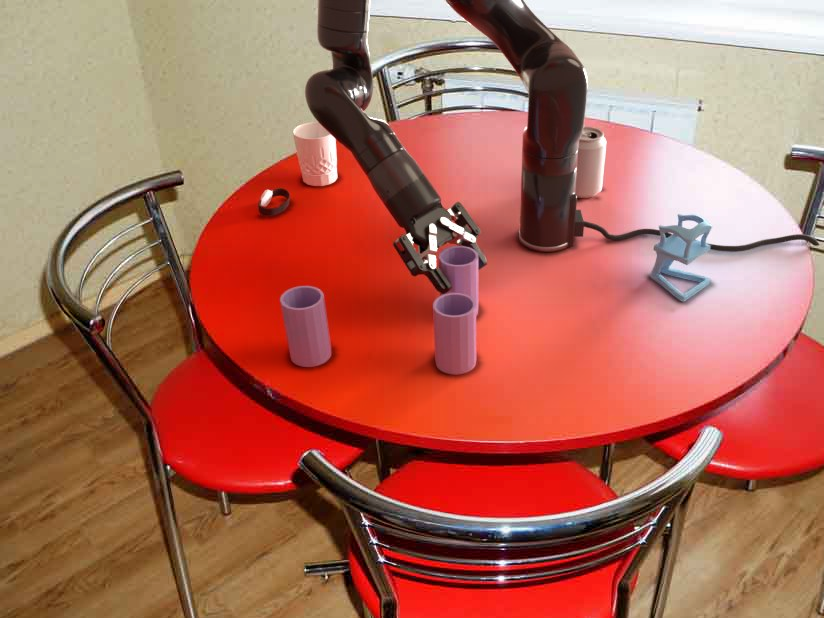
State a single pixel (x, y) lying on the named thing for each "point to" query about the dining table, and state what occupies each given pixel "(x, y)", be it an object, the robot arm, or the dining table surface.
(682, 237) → the chair
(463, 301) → the cup
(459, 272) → the middle cup
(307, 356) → the end cup
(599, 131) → the can
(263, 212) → the watch
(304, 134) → the white cup
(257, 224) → the dining table surface
